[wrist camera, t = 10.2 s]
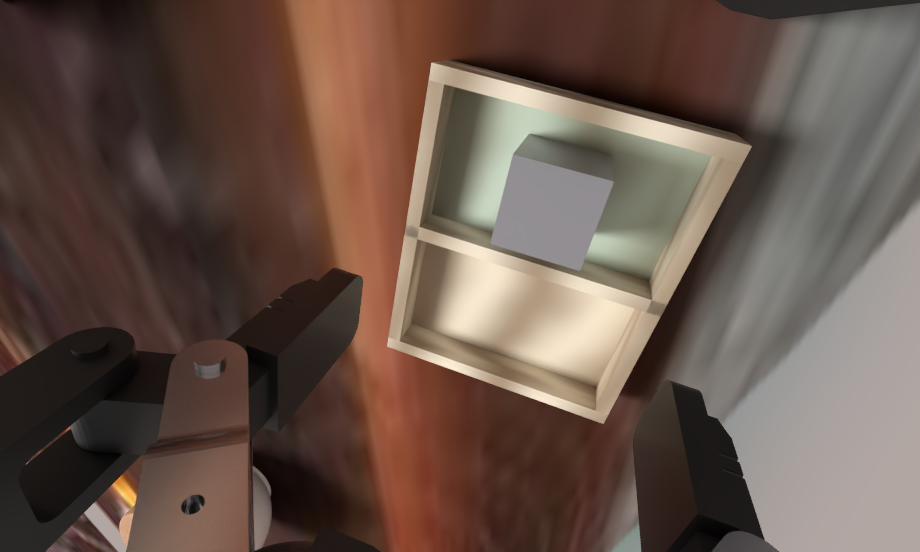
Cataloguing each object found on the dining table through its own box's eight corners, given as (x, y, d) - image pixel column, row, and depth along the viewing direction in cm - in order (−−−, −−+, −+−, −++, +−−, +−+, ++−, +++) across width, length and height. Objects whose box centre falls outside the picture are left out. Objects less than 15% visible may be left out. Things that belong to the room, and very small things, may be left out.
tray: (403, 322, 33) (387, 346, 31) (449, 59, 24) (431, 62, 22) (603, 392, 31) (603, 423, 29) (735, 133, 22) (752, 146, 20)
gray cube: (508, 210, 26) (489, 244, 22) (528, 133, 24) (512, 154, 20) (583, 232, 26) (580, 271, 22) (612, 155, 24) (614, 181, 19)
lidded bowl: (313, 517, 49) (245, 630, 40) (233, 518, 54) (156, 619, 45) (253, 431, 45) (161, 534, 36) (172, 440, 50) (73, 533, 41)
